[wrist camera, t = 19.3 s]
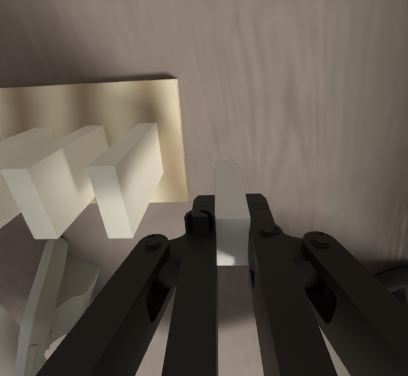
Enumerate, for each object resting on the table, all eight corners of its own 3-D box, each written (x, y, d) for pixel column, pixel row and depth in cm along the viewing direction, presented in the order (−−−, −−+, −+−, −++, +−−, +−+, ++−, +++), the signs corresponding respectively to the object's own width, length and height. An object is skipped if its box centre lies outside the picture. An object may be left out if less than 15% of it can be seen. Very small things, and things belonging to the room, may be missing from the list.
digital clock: (57, 226, 29) (-17, 303, 20) (122, 259, 32) (83, 343, 22) (22, 293, 36) (-47, 376, 27) (78, 317, 38) (33, 401, 29)
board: (177, 78, 21) (175, 79, 20) (188, 196, 26) (187, 201, 25) (-134, 95, 23) (-148, 96, 22) (-61, 202, 28) (-70, 206, 27)
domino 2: (102, 124, 22) (26, 168, 13) (115, 174, 24) (57, 238, 15) (86, 125, 22) (-1, 169, 13) (100, 174, 24) (34, 239, 16)
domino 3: (156, 122, 22) (114, 165, 13) (163, 172, 24) (132, 238, 15) (138, 123, 22) (86, 166, 13) (147, 173, 24) (108, 238, 15)
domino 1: (51, 127, 22) (-57, 171, 13) (68, 175, 25) (-15, 239, 16) (34, 127, 22) (-83, 171, 14) (53, 175, 25) (-37, 239, 16)
